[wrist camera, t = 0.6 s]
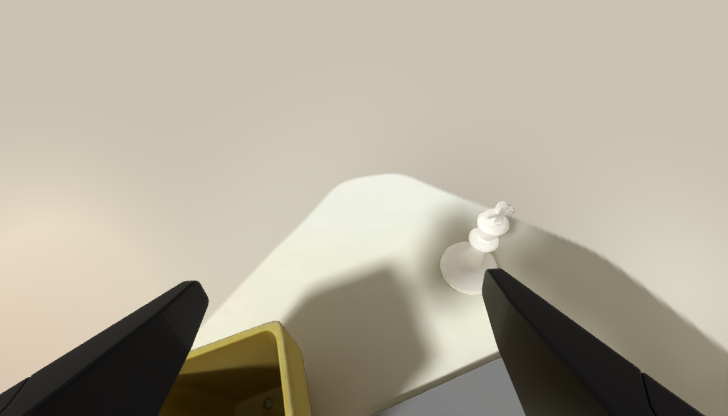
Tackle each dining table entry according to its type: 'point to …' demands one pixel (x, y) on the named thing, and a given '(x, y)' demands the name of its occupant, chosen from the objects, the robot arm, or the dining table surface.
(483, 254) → the chess piece
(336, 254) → the dining table surface
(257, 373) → the flower pot
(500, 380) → the slate tile
